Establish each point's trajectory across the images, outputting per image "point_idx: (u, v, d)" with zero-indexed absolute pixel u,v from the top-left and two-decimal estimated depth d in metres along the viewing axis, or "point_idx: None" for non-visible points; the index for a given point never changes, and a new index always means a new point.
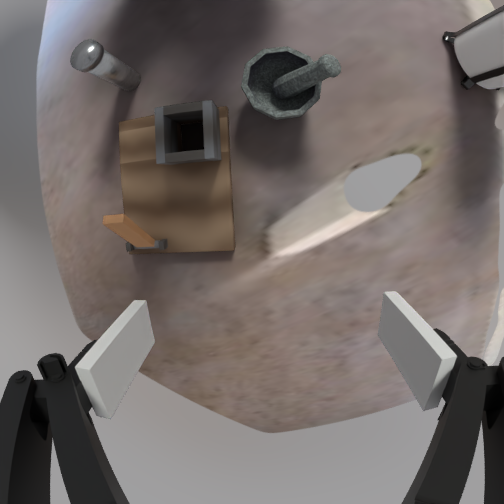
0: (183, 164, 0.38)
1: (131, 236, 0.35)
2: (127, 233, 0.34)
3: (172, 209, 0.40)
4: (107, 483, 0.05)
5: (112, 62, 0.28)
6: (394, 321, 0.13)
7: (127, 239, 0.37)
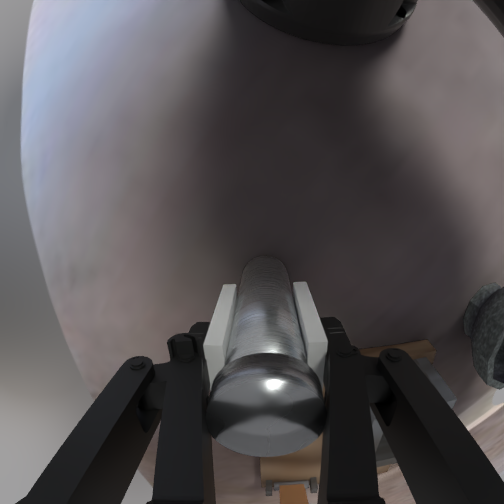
0: None
1: None
2: None
3: None
4: (203, 478, 0.05)
5: None
6: (296, 308, 0.16)
7: None
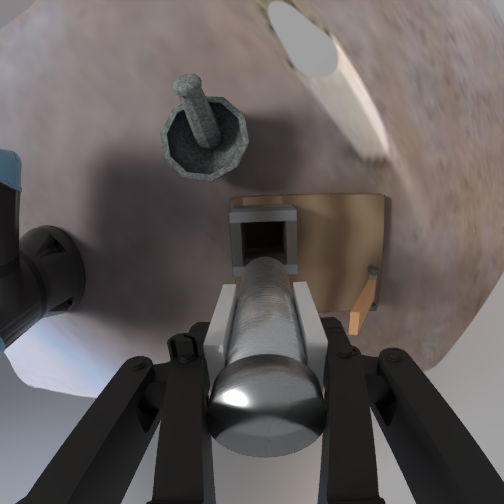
0: None
1: (367, 304, 0.33)
2: (365, 308, 0.32)
3: (339, 259, 0.38)
4: (203, 478, 0.05)
5: None
6: (296, 308, 0.16)
7: (368, 308, 0.34)
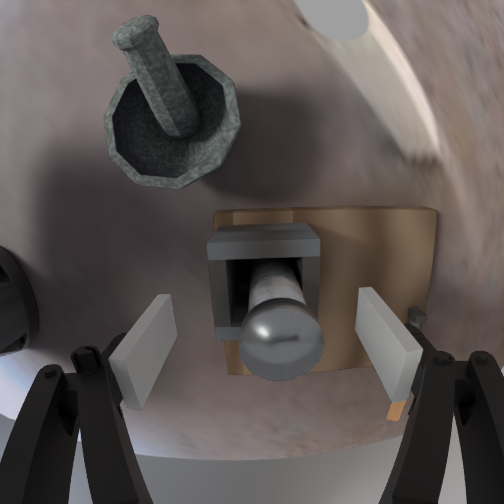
0: None
1: None
2: None
3: None
4: (132, 479, 0.05)
5: None
6: (367, 316, 0.14)
7: None
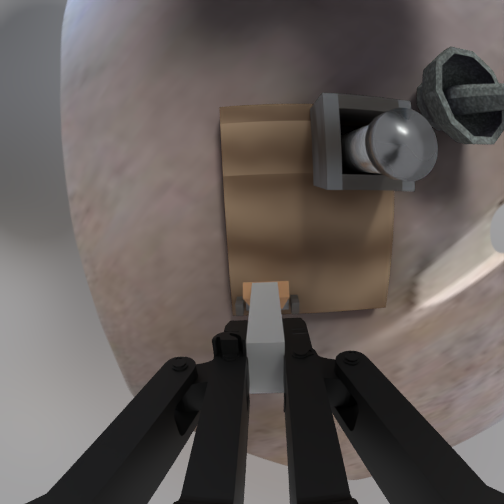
0: None
1: None
2: None
3: (310, 253, 0.27)
4: (235, 481, 0.05)
5: (373, 172, 0.18)
6: None
7: None
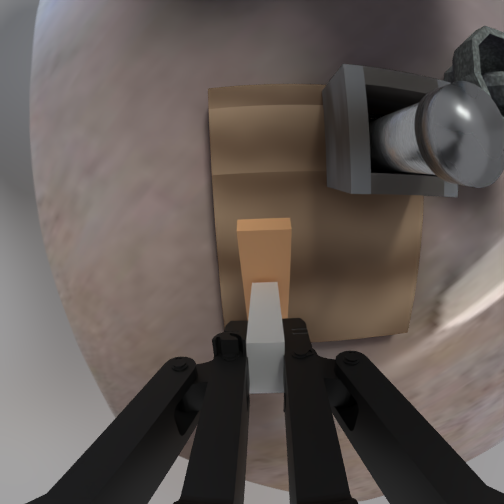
0: None
1: None
2: (268, 280, 0.18)
3: (321, 271, 0.22)
4: (235, 481, 0.05)
5: (414, 172, 0.12)
6: None
7: None
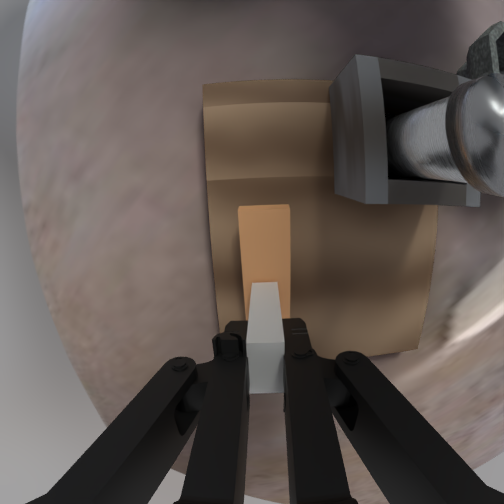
0: None
1: None
2: (268, 273, 0.17)
3: (327, 286, 0.20)
4: (235, 481, 0.05)
5: (437, 178, 0.10)
6: None
7: None
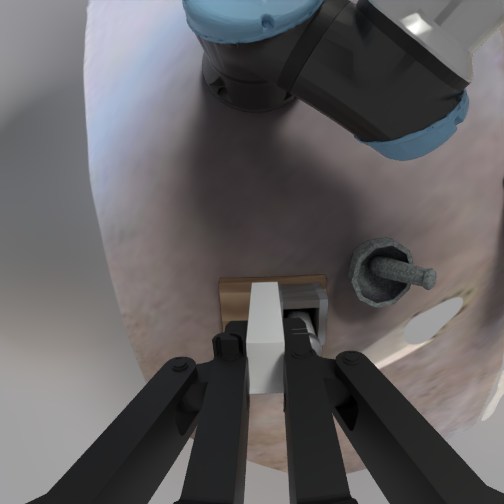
0: None
1: None
2: None
3: None
4: (235, 481, 0.05)
5: None
6: None
7: None
